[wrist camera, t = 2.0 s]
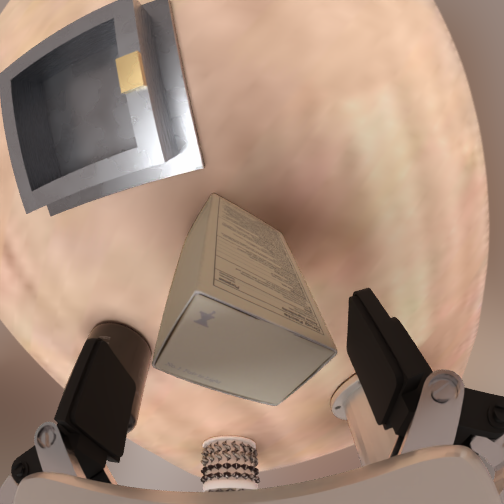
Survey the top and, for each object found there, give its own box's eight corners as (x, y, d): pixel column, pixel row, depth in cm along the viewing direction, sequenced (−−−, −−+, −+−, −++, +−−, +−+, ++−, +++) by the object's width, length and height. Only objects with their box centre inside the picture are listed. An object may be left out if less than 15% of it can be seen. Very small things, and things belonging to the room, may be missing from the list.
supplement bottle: (92, 355, 26) (58, 444, 15) (90, 310, 23) (39, 411, 12) (150, 374, 27) (130, 470, 16) (157, 332, 24) (128, 446, 13)
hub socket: (170, 1, 12) (150, -33, 7) (204, 166, 18) (193, 182, 13) (26, 72, 13) (-18, 69, 8) (56, 212, 18) (17, 240, 13)
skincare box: (184, 239, 20) (142, 366, 9) (214, 188, 19) (189, 285, 8) (255, 277, 22) (274, 411, 11) (288, 232, 21) (342, 353, 10)
